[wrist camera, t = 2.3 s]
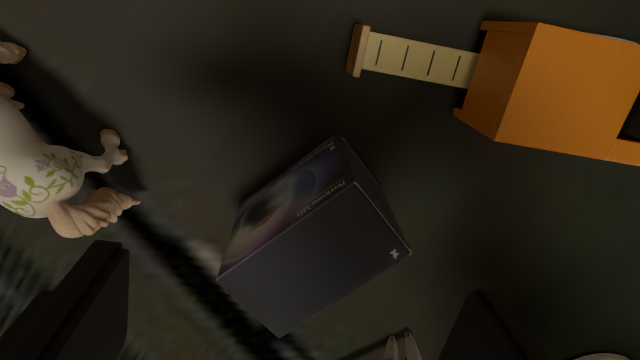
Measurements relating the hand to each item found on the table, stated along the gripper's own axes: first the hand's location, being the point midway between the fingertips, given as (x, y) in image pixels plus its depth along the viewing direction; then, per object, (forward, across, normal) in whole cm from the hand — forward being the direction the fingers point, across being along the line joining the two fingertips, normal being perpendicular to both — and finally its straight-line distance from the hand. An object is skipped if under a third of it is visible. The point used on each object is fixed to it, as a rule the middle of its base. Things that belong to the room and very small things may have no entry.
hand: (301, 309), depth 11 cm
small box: (+21, -3, +6) cm, 22 cm away
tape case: (+21, -18, -6) cm, 28 cm away
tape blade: (+21, -9, -6) cm, 24 cm away
